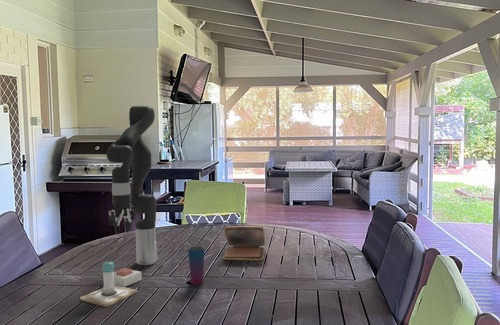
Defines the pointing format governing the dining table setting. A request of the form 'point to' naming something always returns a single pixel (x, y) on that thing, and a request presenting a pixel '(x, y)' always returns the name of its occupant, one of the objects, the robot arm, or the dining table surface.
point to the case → (245, 243)
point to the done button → (124, 271)
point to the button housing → (127, 278)
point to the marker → (108, 278)
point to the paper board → (108, 296)
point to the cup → (196, 264)
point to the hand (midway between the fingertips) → (122, 232)
